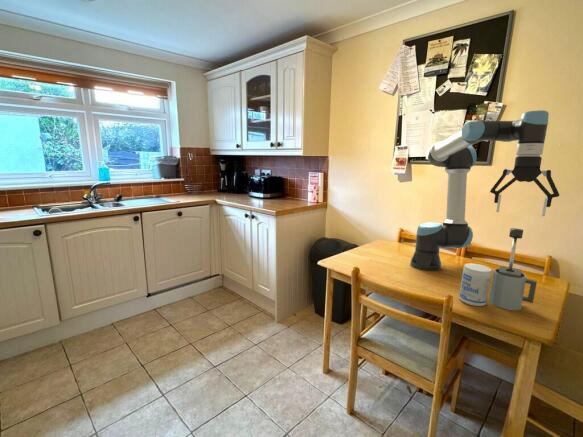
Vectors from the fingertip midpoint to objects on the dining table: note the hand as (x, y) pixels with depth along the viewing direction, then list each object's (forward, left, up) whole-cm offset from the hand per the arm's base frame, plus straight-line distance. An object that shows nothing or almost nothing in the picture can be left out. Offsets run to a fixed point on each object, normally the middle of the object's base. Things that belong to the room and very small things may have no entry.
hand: (519, 213), depth 111 cm
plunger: (0, 0, -27) cm, 27 cm away
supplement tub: (-11, -6, -37) cm, 39 cm away
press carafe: (+2, 0, -37) cm, 37 cm away
